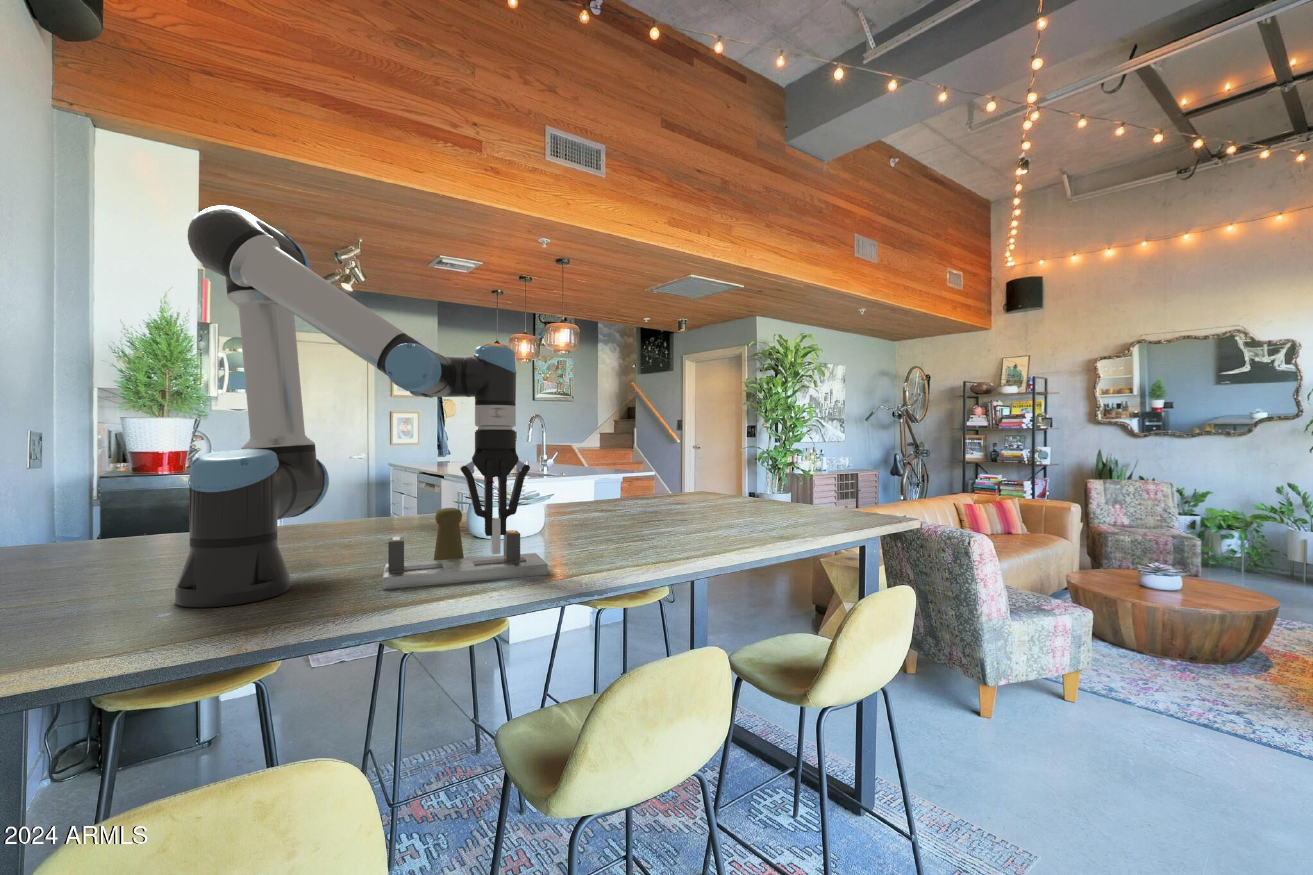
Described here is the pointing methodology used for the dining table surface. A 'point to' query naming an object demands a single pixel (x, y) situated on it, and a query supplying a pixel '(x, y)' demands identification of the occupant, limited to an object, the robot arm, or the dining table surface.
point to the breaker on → (396, 553)
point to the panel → (463, 571)
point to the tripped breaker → (512, 545)
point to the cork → (448, 535)
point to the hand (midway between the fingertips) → (495, 552)
